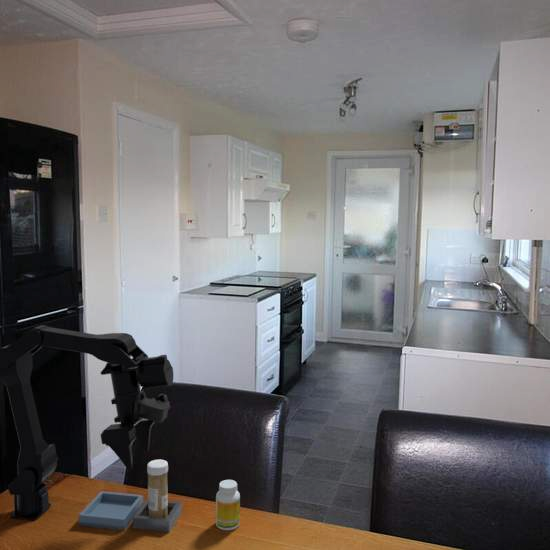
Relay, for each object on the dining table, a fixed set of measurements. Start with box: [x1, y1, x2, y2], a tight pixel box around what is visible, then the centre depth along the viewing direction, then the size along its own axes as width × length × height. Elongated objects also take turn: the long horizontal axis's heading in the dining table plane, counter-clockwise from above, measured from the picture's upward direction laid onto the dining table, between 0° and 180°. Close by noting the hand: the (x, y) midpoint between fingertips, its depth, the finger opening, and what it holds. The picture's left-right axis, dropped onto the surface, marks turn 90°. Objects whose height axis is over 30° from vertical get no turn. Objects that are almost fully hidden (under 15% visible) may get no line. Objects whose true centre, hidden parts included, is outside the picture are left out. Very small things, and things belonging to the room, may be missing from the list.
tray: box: [78, 490, 144, 531], centre depth 123 cm, size 11×11×2 cm
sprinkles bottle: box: [146, 458, 169, 518], centre depth 121 cm, size 5×5×14 cm
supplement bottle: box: [215, 479, 241, 531], centre depth 120 cm, size 5×5×10 cm
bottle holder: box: [132, 497, 183, 533], centre depth 121 cm, size 8×8×2 cm
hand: (138, 459), depth 119 cm, fingers open, 9 cm apart
